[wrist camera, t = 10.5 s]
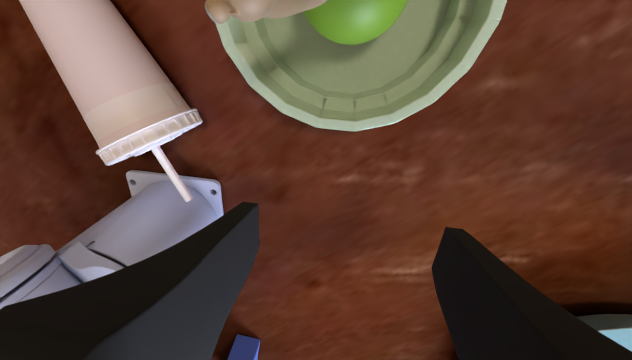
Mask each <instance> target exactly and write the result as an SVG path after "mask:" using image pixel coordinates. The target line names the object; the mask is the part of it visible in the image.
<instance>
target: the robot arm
mask: <svg viewBox="0 0 632 360" xmlns="http://www.w3.org/2000/svg"><path fill="white" fill-rule="evenodd" d="M178 176H179V177H180V179H181V180H182V182H183V183H184V185H185V186H186V188H187V189H188V191H189V193H190V194H191V196H192V197H193V199H192V200H190V201H188V202H185V200H184V199H183V197H182V196H181V194H180V193H179V191H178V190H177V188H176V187H175V185H174V184H173V182H172V181H171V179H170V178H169V176H168V175H167V174H164V173H156V172H147V171H139V170H130V171H128V172H127V173H126V178H127V181H128V185H129V188H130V192H131V196H132V198H130V199H129V200H127V201H126V202H125V203H123V204H122V205H120V206H119V207H118V208H116V209H115V210H113V211H112V212H111V213H109V214H108V215H106V216H105V217H104V218H102V219H101V220H100V221H98V222H97V223H95V224H94V225H93V226H91V227H90V228H88V229H87V230H86V231H84V232H83V233H81V234H80V235H79V236H77V237H76V238H74V239H73V240H72V241H70V242H69V243H67V244H66V245H65V246H63V247H62V248H60V249H59V250H57V251H54V250H53V249H52V247H51V246H50V245H48V244H43V245H39V246H38V245H24V246H22V247H19V248H17V249H15V250H13V251H11V252H9V253H7V254H5V255H3V256H2V257H0V360H211V357H212V355H213V352H214V349H215V347H216V344H217V341H218V339H219V336H220V333H221V331H222V329H223V326H224V324H225V322H226V319H227V317H228V315H229V313H230V311H231V309H232V307H233V305H234V303H235V301H236V299H237V297H238V295H239V293H240V291H241V289H242V287H243V285H244V283H245V281H246V279H247V277H248V274H249V272H250V270H251V268H252V266H253V263H254V260H255V257H256V254H257V251H258V248H259V245H260V239H259V210H258V204H256V203H248V202H242V203H241V204H239V205H238V206H236V207H235V208H233V209H232V210H230V211H229V212H227V213H226V214H224V213H223V204H222V194H221V185H220V183H219V182H218V181H217V180H214V179H206V178H198V177H189V176H181V175H178ZM133 180H134V181H135V182H136V183H135V182H134V181H133ZM212 189H213V190H215V191H216V192H217V193H215V192H214V191H213V190H212ZM432 273H433V278H434V284H435V289H436V293H437V296H438V300H439V303H440V306H441V309H442V312H443V315H444V317H445V320H446V323H447V326H448V329H449V332H450V335H451V338H452V341H453V344H454V347H455V350H456V353H457V356H458V359H459V360H632V351H630V350H628V349H627V348H625V347H623V346H622V345H620V344H618V343H617V342H615V341H613V340H612V339H610V338H608V337H607V336H605V335H603V334H602V333H600V332H599V331H597V330H595V329H594V328H592V327H591V326H589V325H588V324H586V323H584V322H583V321H581V320H580V319H578V318H577V317H575V316H574V315H573V314H571V313H570V312H568V311H567V310H565V309H564V308H562V307H561V306H559V305H558V304H556V303H555V302H554V301H552V300H551V299H549V298H548V297H547V296H545V295H544V294H543V293H541V292H540V291H539V290H537V289H536V288H535V287H533V286H532V285H531V284H529V283H528V282H527V281H525V280H524V279H523V278H522V277H520V276H519V275H518V274H517V273H515V272H514V271H513V270H512V269H510V268H509V267H508V266H507V265H506V264H504V263H503V262H502V261H501V260H500V259H498V258H497V257H496V256H495V255H494V254H492V253H491V252H490V251H489V250H488V249H487V248H485V247H484V246H483V245H482V244H481V243H480V242H478V241H477V240H476V239H475V238H474V237H472V236H471V235H470V234H469V233H467V232H466V231H464V230H463V229H457V228H449V227H446V228H445V231H444V234H443V237H442V240H441V242H440V245H439V248H438V251H437V254H436V257H435V260H434V262H433V265H432Z"/></svg>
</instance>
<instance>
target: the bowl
mask: <svg viewBox="0 0 632 360" xmlns="http://www.w3.org/2000/svg"><path fill="white" fill-rule="evenodd" d="M506 2H507V0H408V2H407V4H406V6H405V8H404V10H403V12H402V13H401V15H400V16H399V18H398V19H397V20H396V21H395V23H394V24H393V25H392V26H391V27H390V28H389V29H388V30H387V31H385V32H384V33H383V34H381V35H380V36H378V37H377V38H375V39H373V40H371V41H368V42H365V43H361V44H354V45H347V44H340V43H336V42H333V41H331V40H329V39H327V38H325V37H324V36H322V35H321V34H320V33H318V32H317V31H316V30H315V29H314V28H313V27H312V25H311V24H310V23H309V21H308V20H307V18H306V17H305V15H304V13H303V12H300V13H297V14H294V15H291V16H288V17H284V18H265V17H263V18H261V19H259V20H257V21H253V22H244V21H240V20H238V19H236V18H235V17H233V16H232V15H230V16H229V19H228V20H227V21H226V22H225V23H223V24H218V23H216V26H217V29H218V32H219V35H220V38H221V40H222V43H223V46H224V48H225V50H226V52H227V53H228V55H229V56H230V58H231V59H232V61H233V62H234V64H235V65H236V66H237V68H238V69H239V71H240V72H241V74H242V75H243V77H244V78H245V80H246V81H247V83H248V84H249V85H250V86H251V87H252V88H253V89H254V90H255V91H256V92H258V93H259V94H260V95H261V96H262V97H263V98H265V99H266V100H267V101H268V102H269V103H271V104H272V105H273V106H274V107H275V108H277V109H278V110H279V111H280V112H282V113H283V114H286V115H288V116H290V117H293V118H295V119H297V120H300V121H302V122H304V123H307V124H309V125H311V126H314V127H317V128H324V129H334V130H344V131H361V130H366V129H371V128H375V127H380V126H385V125H390V124H394V123H397V122H399V121H401V120H402V119H404V118H406V117H408V116H410V115H412V114H414V113H416V112H418V111H419V110H421V109H423V108H425V107H427V106H429V105H431V104H432V103H433V102H435V101H436V100H437V99H439V98H440V97H441V96H442V95H443V94H444V93H445V92H446V91H447V90H448V89H449V88H450V87H451V86H452V85H453V84H454V83H456V82H457V81H458V80H459V79H460V78H461V77H462V76H463V75H464V74H465V73H466V72H467V71H468V70H469V68H471V67H472V65H473V63H474V62H475V60H476V59H477V57H478V55H479V54H480V52H481V51H482V49H483V48H484V46H485V44H486V43H487V41H488V40H489V38H490V36H491V35H492V33H493V32H494V30H495V29H496V27H497V25H498V24H499V22H500V21H499V20H501V17H502V14H503V11H504V8H505V5H506Z"/></svg>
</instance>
